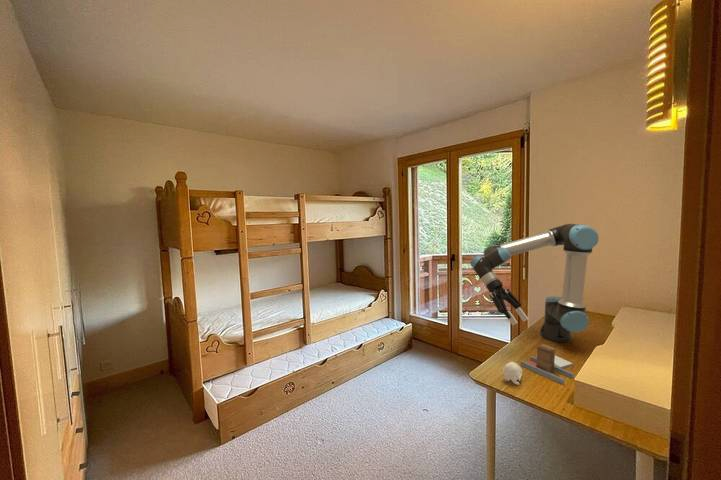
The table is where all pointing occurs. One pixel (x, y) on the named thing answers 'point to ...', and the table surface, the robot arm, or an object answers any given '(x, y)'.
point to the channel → (547, 374)
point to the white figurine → (512, 372)
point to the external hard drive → (561, 362)
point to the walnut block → (545, 358)
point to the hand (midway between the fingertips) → (520, 322)
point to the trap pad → (532, 363)
